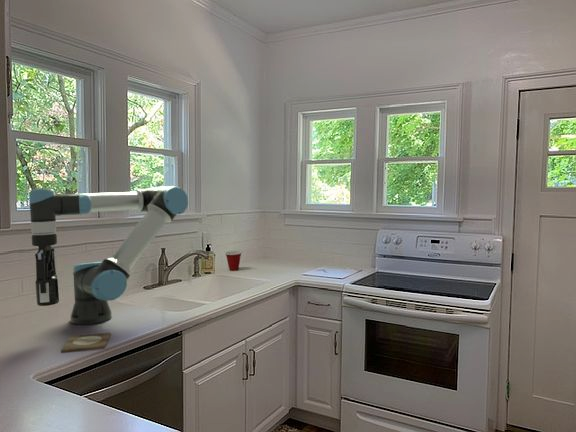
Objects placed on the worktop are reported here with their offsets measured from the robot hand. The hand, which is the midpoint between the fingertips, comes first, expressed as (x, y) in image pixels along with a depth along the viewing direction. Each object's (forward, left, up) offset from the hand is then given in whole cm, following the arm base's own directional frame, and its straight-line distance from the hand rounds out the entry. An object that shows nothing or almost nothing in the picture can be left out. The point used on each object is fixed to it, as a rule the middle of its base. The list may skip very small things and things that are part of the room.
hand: (47, 299), depth 152 cm
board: (+8, +14, -14) cm, 21 cm away
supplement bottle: (0, 0, -2) cm, 2 cm away
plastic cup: (-115, +79, -14) cm, 140 cm away
